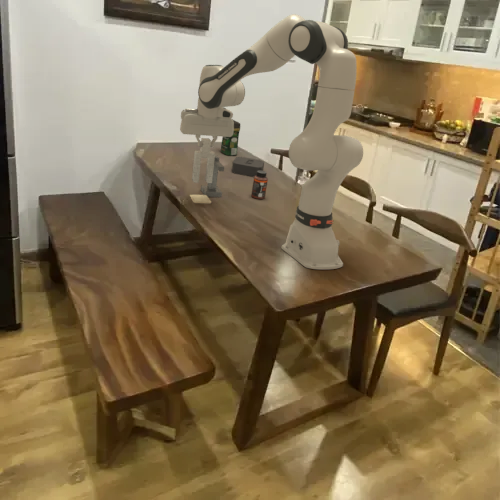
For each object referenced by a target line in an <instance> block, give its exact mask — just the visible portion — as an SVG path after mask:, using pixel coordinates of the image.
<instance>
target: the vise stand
mask: <svg viewBox="0 0 500 500" xmlns="http://www.w3.org/2000/svg"><path fill="white" fill-rule="evenodd" d="M219 172H225V166H224V164H222V162H220V156H219V155H217V154H215V159H214V169H213V178H212V183H207V185H201V186H200V191H201V193H202V195H207V197H208V198H222V197H223V192H222V190H221V189H220V188H219V186H217V185H218V184H217V182H218V174H219Z"/></svg>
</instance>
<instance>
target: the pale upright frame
mask: <svg viewBox="0 0 500 500" xmlns="http://www.w3.org/2000/svg"><path fill="white" fill-rule="evenodd" d="M200 141H202V142H203V144H202V147H200V148H199V149H200V150H194V155H193V165H192V166H193V167H192V176H191V177H192V178H191V180H192V182H193V183H195V184H197V183H199V182H200V175H201V174H200V173H201V172H200V171H201V161H202V159H206V171H205V179H204V181H205V182H206V183H207V184H208V183H212V178H213V169H214V159H215V155H216V152H215V151H213V150H211V147H210V145H211V141H212V140H211V139H210V138H207V137H206V138H205V137H200ZM199 184H200V183H199Z"/></svg>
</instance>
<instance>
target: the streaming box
mask: <svg viewBox="0 0 500 500" xmlns="http://www.w3.org/2000/svg"><path fill="white" fill-rule="evenodd" d="M264 167H265V161H264V160H261V159H256V158H249V157H245V156H244V157H243V156H236V157H235V158H234V160H233V161H232V166H231V173H234V174H237V175H243V176H247V177H253V178H254V177H255V176H256V175H257V171H264V169H265V168H264Z"/></svg>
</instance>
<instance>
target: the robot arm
mask: <svg viewBox="0 0 500 500" xmlns="http://www.w3.org/2000/svg"><path fill="white" fill-rule="evenodd" d="M348 48H349V39H348V37H347V35H346V33H345V32H344V31H343V30H342V29H341V28H339V27H337V26H334V25H330V24H328V23H326V22H324V21H323V22H322V21H318V20H316V21H315V20H312V19H311V20H310V19H306V20H305V18H303V16H301V15H300V14H296V13H294V14H292V13H291V14H289V15H288V16H286V17H284V18H283V19H282V20H280V21H279V22H278V23H276V24H275V25H274V26H273V27H271V28H270V29H269V30H268V31H267V32H266V33H265V34H264V35H263V36H262V37H260V38H259V39H258V40H257V41H256V42H254V44H253V45H251V46H250V47H249V48H248V49H247V48H246V50H245V51H243V52H242V53H240V54H239V55H237V56H236V57H235V58H234V59H233V60H231V61H230V62H229V63H228V64H227V65H225V66H223V65H221V64H206V65H205V66H203V67H202V69H201V73H200V77H199V85H198V86H199V87H198V92H197V93H198V99H197V106H196V107H197V108H185V109H183V110H182V111H181V113H180V119H181V122H180V128H179V129H180V133H182V135H189V136H190V135H191V136H192V135H193V136H195V138H196V141H197V147H200V148H201V147H202V144H203V142H202V141H201V136H209V137H212V140H211V145H210V148H214V144H215V142H216V141H217V140H218V137H231V136H232V135H233V132H234V122H233V120H234V119H233V118H234V114H233V112H232V111H231V110H230V109H228V107H236V106H239V105H241V104H242V103H243V101H244V99H245V96H246V88H245V86H244V83H243V82H242V79H244V78H247V77H248V76H251V75H255V74H260V73H269V72H274V71H276V70H278V69H281V68H282V67H283V66H285V65H286V64H287V63H288V62H289V61H290V60H291V59H292V58H294V57H297V58H299V59H301V60H303V61H305V62H306V63H308V64H311V65H314V64H316V65H317V67H318V70H319V77H318V83H317V90H316V96H315V103H314V108H313V113H312V115H311V118H310V119H309V122H308V123H307V125H306V127H305V128H304V129H303V131H302V132H301V133H300V134H298V135H297V136H296V137H294V138H293V140H292V141H291V143H290V144H289V148H288V158H289V161H290V163H291V165H292V166H293V167H294V168H298V169H300V170H303V171H304V170H305V171H316V173H315V174H313V176H312V177H311V178H309V179H308V180H306V181H305V182H304V184H303V185H302V187H301V191H300V197H299V202H298V206H297V207H296V209H295V214H294V215H295V216H294V218H295V219H294V221H293V222H292V223H291V224H290V225H289V228H288V232H287V237H286V239H285V240H286V241H285V243H283V244H282V245H281V249H282V251H284V252H285V253H287V254H288V255H289V256H290V257H292V258H293V259H294V260H295V261H297V262H298V263H299V264H301V265H302V266H304V267H305V268H307V269H313V270H334V269H340V268H342V267H344V262H343V261H342V259H341V257H340V256H339V246H340V240H339V239H337V238H336V235H335V232H334V231H333V227H332V226H333V224H334V220H333V212H332V211H333V207H334V204H335V199H336V196H337V192H338V190H339V188H340V186H341V185H342V183H343V181H344V180H345V178H346V177H347V176H348V175H349V173H351V171H352V170H354V169H355V168H357V167H358V166H359V165H360V163H361V162H362V161H363V158H364V148H363V147H364V146H363V144H362V143H361V141H360V140H359V139H358V138H355V137H352V136H349V135H342V134H340V135H337V134H335V133H336V131H337V130H338V128H339V127H340V126H341V125H342V124H343V123H345V122H347V120H349V118H350V117H351V115H352V109H353V102H354V98H355V97H354V96H355V92H356V91H355V90H356V83H357V57H356V55H355V54H354V53H353V52H352V50H349V49H348ZM232 119H233V120H232Z"/></svg>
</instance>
